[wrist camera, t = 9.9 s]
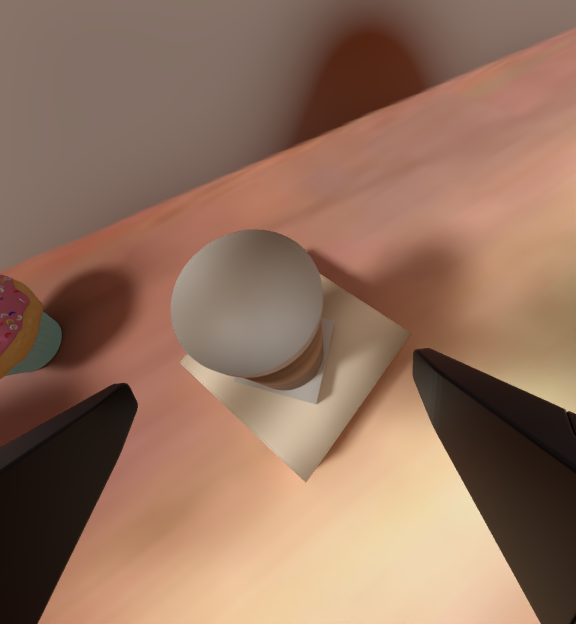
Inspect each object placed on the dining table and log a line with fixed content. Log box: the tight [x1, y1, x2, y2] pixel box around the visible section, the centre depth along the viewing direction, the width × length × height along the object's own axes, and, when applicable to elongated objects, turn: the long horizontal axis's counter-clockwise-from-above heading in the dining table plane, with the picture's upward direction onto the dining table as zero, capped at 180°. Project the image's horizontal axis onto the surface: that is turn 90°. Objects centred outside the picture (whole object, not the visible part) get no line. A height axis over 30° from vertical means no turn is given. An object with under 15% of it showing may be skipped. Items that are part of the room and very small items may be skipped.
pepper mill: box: [171, 230, 335, 404], centre depth 14 cm, size 5×5×10 cm
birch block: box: [180, 274, 411, 482], centre depth 20 cm, size 11×11×3 cm
